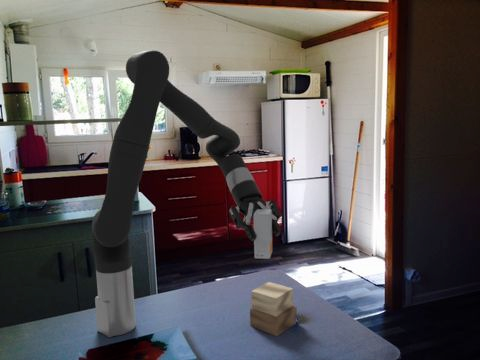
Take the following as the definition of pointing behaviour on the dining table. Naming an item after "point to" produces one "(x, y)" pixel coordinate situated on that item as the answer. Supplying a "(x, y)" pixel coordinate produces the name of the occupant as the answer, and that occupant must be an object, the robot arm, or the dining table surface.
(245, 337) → the dining table surface
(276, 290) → the beech block
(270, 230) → the skincare box
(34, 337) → the dining table surface
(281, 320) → the walnut block
